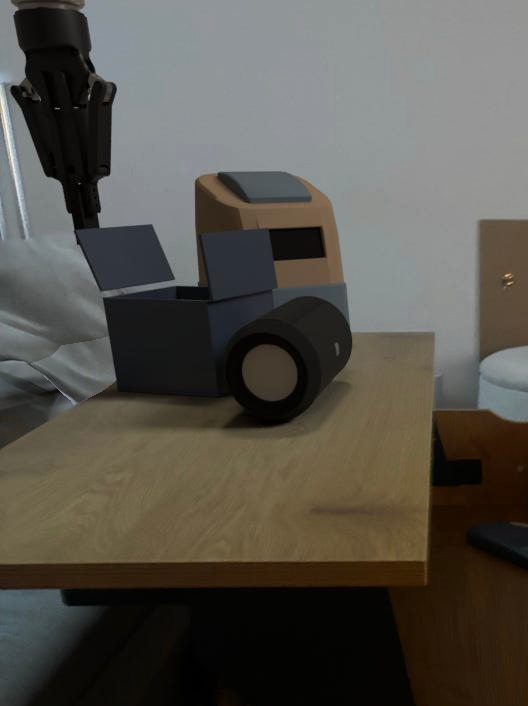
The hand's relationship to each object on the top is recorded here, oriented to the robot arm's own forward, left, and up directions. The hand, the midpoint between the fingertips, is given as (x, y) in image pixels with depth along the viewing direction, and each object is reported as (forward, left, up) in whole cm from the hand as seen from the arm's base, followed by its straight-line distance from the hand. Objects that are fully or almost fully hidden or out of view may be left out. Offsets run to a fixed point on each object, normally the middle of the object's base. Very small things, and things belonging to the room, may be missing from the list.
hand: (89, 244), depth 117 cm
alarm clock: (+12, +20, -16) cm, 28 cm away
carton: (+13, 0, -16) cm, 20 cm away
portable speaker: (+30, -6, -16) cm, 34 cm away
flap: (+5, 0, -1) cm, 5 cm away
